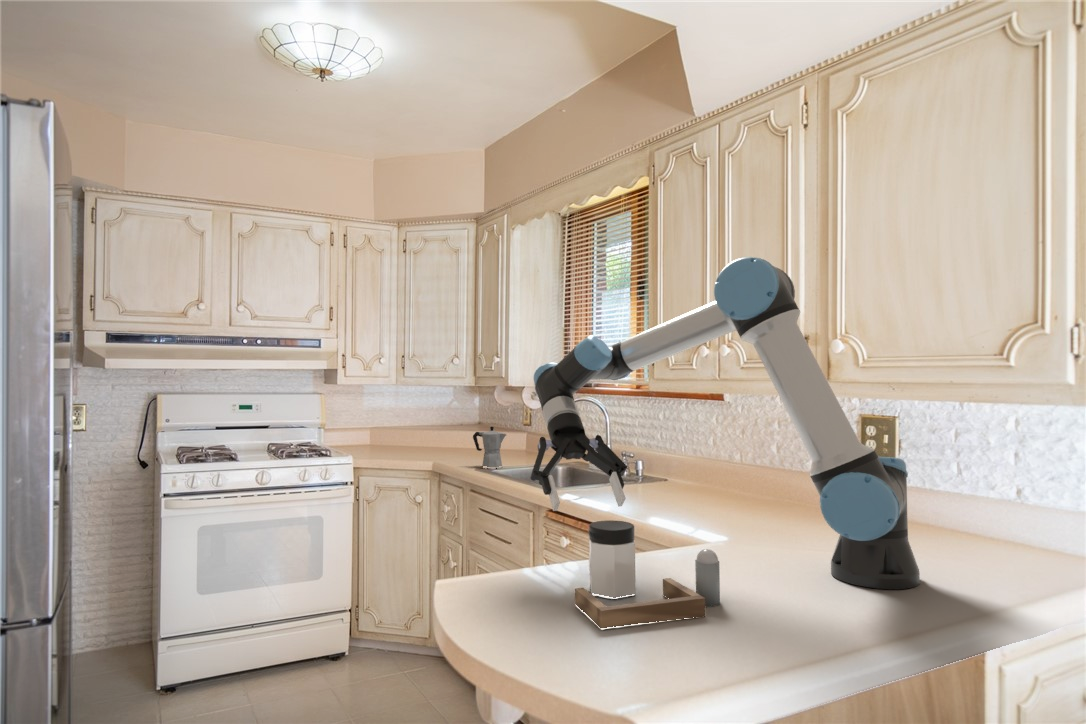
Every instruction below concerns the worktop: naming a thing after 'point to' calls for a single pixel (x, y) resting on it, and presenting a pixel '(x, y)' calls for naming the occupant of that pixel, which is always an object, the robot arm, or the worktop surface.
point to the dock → (644, 607)
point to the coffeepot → (490, 447)
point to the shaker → (708, 577)
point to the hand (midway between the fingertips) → (589, 504)
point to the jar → (612, 558)
